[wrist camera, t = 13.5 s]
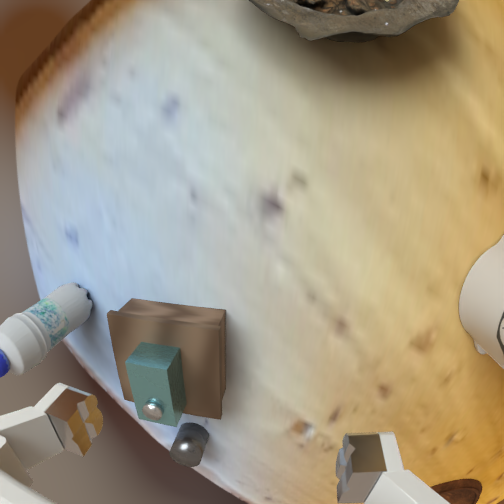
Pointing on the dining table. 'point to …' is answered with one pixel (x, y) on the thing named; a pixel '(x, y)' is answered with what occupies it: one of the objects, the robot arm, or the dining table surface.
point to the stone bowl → (354, 16)
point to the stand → (176, 335)
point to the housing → (157, 383)
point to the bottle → (41, 328)
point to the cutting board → (459, 491)
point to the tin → (189, 444)
